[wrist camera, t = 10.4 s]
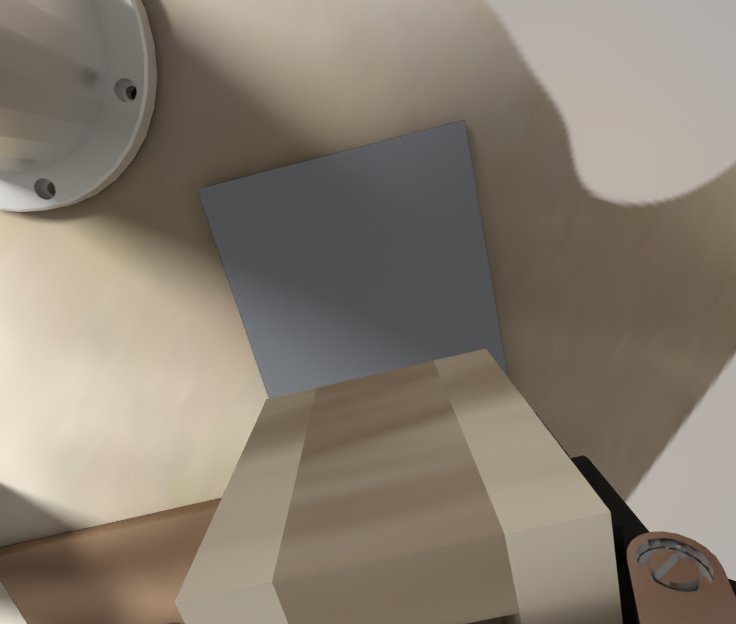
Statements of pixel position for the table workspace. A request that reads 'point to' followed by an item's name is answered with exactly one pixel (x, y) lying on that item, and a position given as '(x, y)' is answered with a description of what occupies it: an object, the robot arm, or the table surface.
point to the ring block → (406, 511)
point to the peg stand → (108, 569)
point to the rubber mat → (358, 260)
